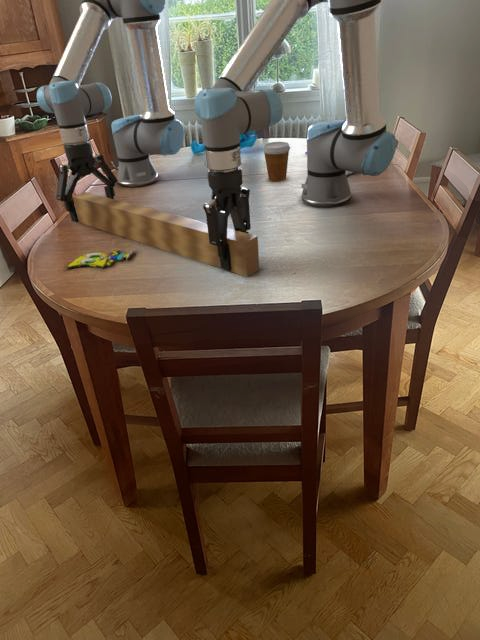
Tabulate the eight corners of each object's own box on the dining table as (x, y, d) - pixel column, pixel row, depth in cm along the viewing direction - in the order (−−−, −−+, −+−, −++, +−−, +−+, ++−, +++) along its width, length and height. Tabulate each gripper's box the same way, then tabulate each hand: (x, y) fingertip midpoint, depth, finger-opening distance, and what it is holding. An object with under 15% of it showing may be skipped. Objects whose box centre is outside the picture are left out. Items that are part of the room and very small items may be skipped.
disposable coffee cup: (260, 182, 170) (258, 147, 164) (269, 174, 177) (267, 141, 171) (286, 183, 167) (285, 148, 160) (294, 175, 174) (293, 141, 168)
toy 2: (195, 134, 218) (257, 114, 208) (203, 157, 223) (264, 139, 213) (184, 143, 204) (250, 123, 194) (193, 168, 209) (257, 149, 199)
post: (79, 222, 151) (72, 196, 146) (91, 218, 154) (85, 191, 149) (247, 276, 112) (244, 243, 107) (259, 269, 115) (257, 235, 110)
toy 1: (121, 265, 120) (65, 266, 122) (122, 268, 120) (66, 269, 122) (134, 248, 128) (81, 249, 130) (135, 251, 129) (82, 251, 131)
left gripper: (44, 154, 126) (65, 230, 137) (120, 133, 141) (133, 203, 152) (29, 151, 130) (51, 225, 141) (104, 132, 145) (119, 200, 157)
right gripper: (209, 181, 96) (220, 283, 109) (263, 159, 107) (267, 254, 120) (183, 176, 100) (197, 275, 113) (237, 155, 111) (244, 248, 124)
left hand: (94, 214), depth 147 cm, fingers open, 13 cm apart
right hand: (233, 264), depth 116 cm, fingers closed on post, 5 cm apart
